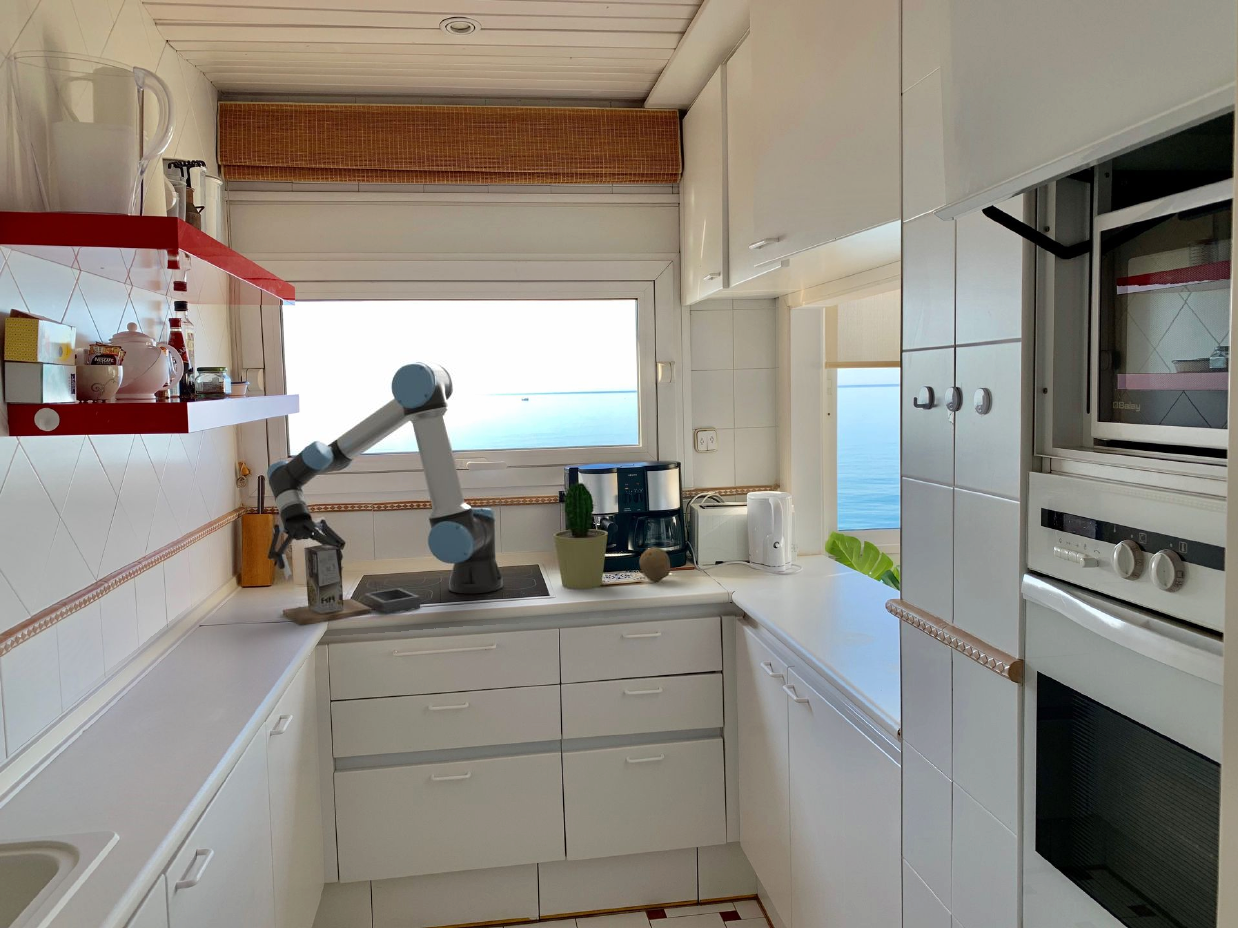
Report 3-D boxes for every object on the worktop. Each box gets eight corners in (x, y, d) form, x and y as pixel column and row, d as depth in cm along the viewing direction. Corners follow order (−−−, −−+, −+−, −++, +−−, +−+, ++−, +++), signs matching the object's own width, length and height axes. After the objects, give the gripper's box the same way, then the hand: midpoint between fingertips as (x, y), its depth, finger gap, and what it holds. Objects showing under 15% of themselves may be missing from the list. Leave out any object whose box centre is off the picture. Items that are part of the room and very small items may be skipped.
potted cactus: (616, 587, 260) (614, 481, 257) (563, 592, 255) (560, 484, 252) (599, 576, 274) (596, 476, 271) (549, 581, 269) (545, 479, 266)
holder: (399, 598, 252) (399, 587, 252) (420, 607, 242) (419, 596, 241) (364, 604, 246) (363, 593, 246) (383, 614, 236) (383, 602, 235)
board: (351, 602, 248) (350, 598, 248) (371, 612, 237) (370, 608, 237) (282, 614, 238) (282, 609, 238) (300, 625, 227) (300, 620, 226)
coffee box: (344, 610, 236) (341, 547, 234) (320, 614, 232) (316, 551, 230) (331, 603, 243) (328, 543, 241) (307, 608, 239) (303, 546, 237)
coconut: (641, 577, 271) (640, 544, 270) (671, 577, 270) (670, 544, 269) (638, 584, 262) (638, 550, 261) (670, 584, 261) (669, 550, 260)
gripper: (335, 514, 262) (358, 575, 251) (244, 524, 247) (264, 589, 236) (341, 497, 257) (364, 558, 246) (248, 506, 242) (269, 572, 231)
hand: (315, 573), depth 241 cm, fingers open, 13 cm apart
